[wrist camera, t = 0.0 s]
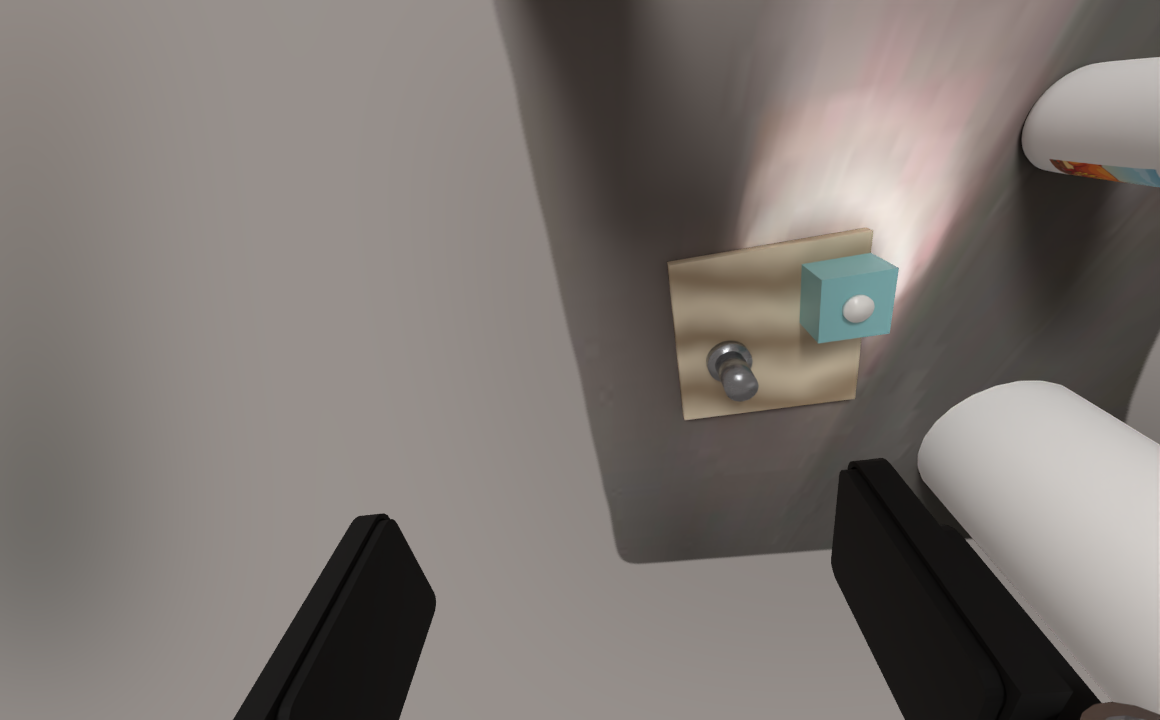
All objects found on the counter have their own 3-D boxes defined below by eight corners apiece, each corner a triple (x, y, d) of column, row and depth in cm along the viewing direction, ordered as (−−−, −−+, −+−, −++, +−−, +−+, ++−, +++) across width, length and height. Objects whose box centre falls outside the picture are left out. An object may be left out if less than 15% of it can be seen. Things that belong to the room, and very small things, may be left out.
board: (667, 261, 44) (668, 265, 43) (866, 227, 42) (873, 230, 41) (682, 414, 53) (684, 420, 52) (849, 392, 50) (854, 398, 49)
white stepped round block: (892, 492, 57) (1111, 784, 32) (961, 372, 49) (1325, 643, 24) (1031, 506, 57) (1353, 807, 33) (1123, 388, 49) (1650, 675, 24)
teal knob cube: (801, 264, 43) (824, 282, 38) (870, 252, 42) (902, 270, 37) (799, 322, 45) (820, 346, 41) (864, 313, 45) (892, 335, 40)
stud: (704, 344, 47) (716, 371, 42) (749, 337, 46) (766, 364, 42) (707, 380, 49) (718, 410, 44) (750, 374, 48) (766, 404, 44)
